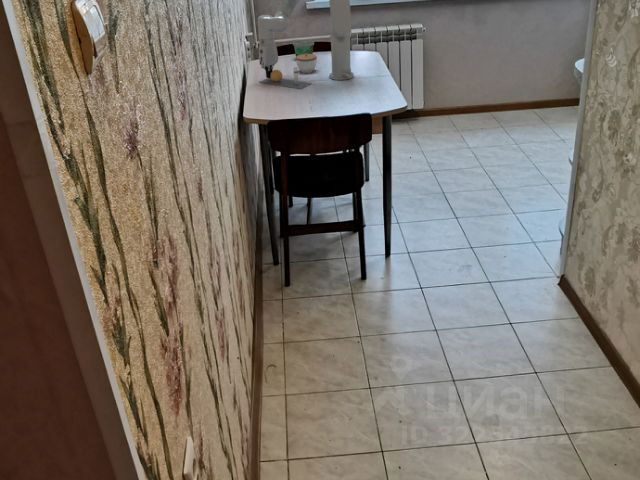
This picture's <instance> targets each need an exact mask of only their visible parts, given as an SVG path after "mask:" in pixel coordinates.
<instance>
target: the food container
mask: <svg viewBox="0 0 640 480" xmlns="http://www.w3.org/2000/svg"><path fill="white" fill-rule="evenodd" d="M314 45H315V41H314V40H311V41H303V40H301V41H295V40H293V41H292V46H294V53H295V58H296V57H297V56H298V55H302V54H305V53H307V54H314V53H313V52H314Z"/></svg>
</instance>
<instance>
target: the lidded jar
mask: <svg viewBox="0 0 640 480" xmlns="http://www.w3.org/2000/svg"><path fill="white" fill-rule="evenodd" d="M317 57H318V56H317V55H316V54H314V53H313V54H307V53H305V54H302V55H298V56H297V57H296V56H295V59H296V65H297V68H298V70H299V71H300V72H301V73H306V74H308V73H312V72H313V71H314V70H315V69H316V67H317Z"/></svg>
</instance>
